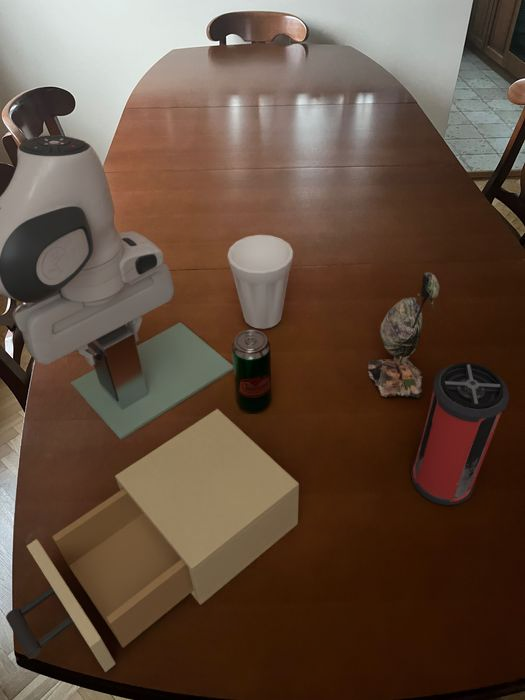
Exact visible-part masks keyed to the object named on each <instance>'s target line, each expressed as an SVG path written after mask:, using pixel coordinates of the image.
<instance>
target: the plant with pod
mask: <svg viewBox="0 0 525 700" xmlns="http://www.w3.org/2000/svg"><path fill="white" fill-rule="evenodd" d="M420 289H421V291H420V293H417V296H421V298H422V299H421V305H420V304H419V301H418V299H417V298H416V297H413V296H409V297H405V298H402V299H401V300H400V301H397V303H395V304H394V305H393V306H392V307H391V308H390V309H389V310H388V312H386V315H385V316H384V318H383V321H382V322H381V324H380V331H379V332H380V338H381V340H382V343H383V348H384V349H385V350H386V351H387V352H388V354H389V355H391V356H393V358H388V359H386V358H384V359H375V358H374V359H372V360H369V361H368V362H367V368H368V371H367V373H368V376H369V378H370V379H371V380H372V381H373V382H375V383H374V385H375V386H377V387H378V390H379V392H380V396H382V397H385V398H388V397H389V398H391V397H397V395H398V396H399V397H400V396H402V397H403V396H405V398H408V397H413V398H417V399H419V398H420V397H421V396H423V390H422V380H423V379H422V378H423V376H422V372H421V371H420V369H419V367H417V366H414V364H413V362H412V361H410V359H409V358H410V356H412V355H413V354H414V353H416V350H417V349H418V344H419V341H420V339H421V335H422V331H423V325H424V322H423V312H422V310H423V308H424V306H425V304H426V302H427V300H429V302H430V307H431V309H432V310H434V309H435V306H434V301H435V299H437V297H438V296H439V292H440V283H439V281H438V279H437V277H436V275H434V273H432V272H427V271H425V272H423V274H422V280H421V287H420Z"/></svg>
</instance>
